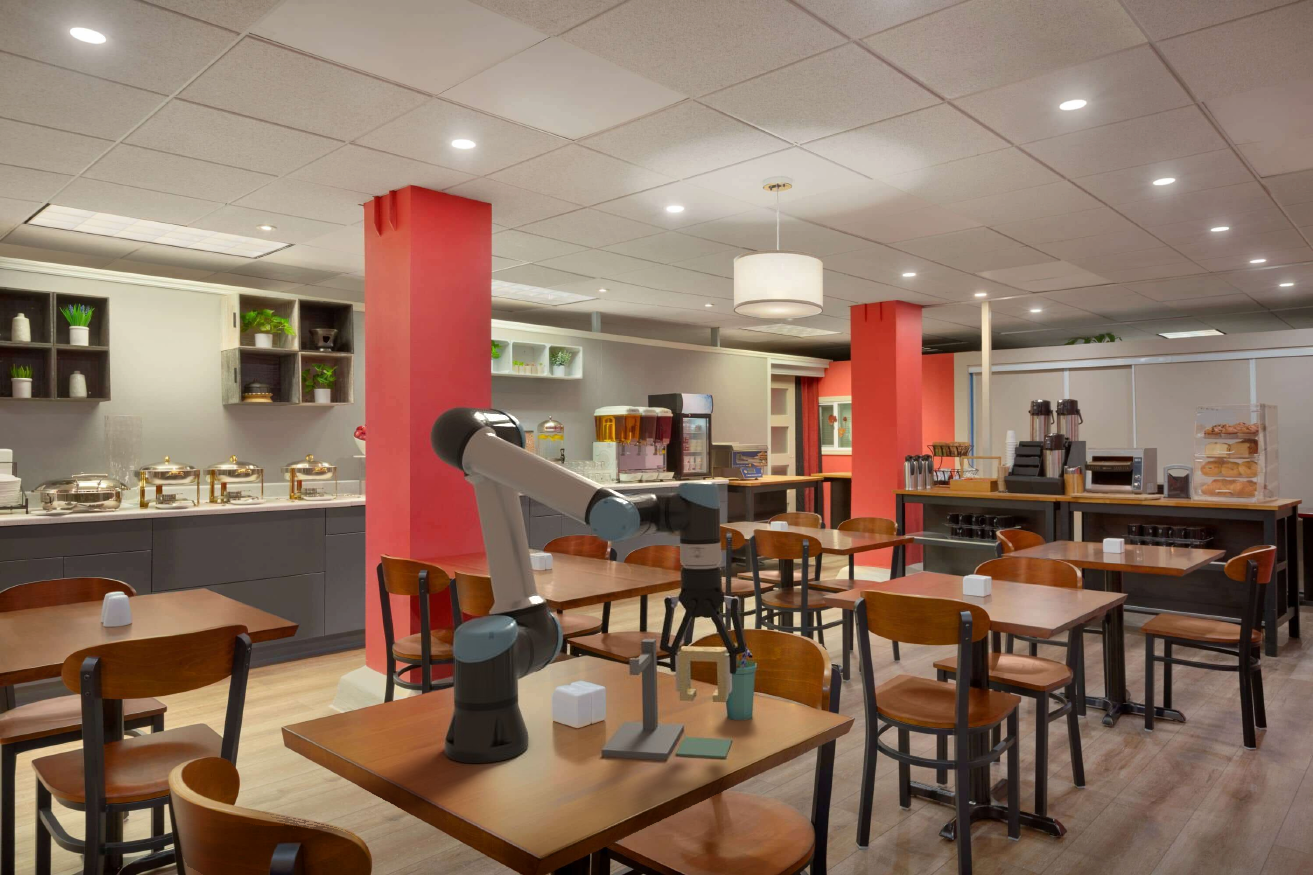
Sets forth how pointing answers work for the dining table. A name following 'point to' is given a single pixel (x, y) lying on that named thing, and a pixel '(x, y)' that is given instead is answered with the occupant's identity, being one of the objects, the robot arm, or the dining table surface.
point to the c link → (702, 655)
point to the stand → (645, 717)
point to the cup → (742, 689)
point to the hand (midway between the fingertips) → (704, 690)
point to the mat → (704, 747)
